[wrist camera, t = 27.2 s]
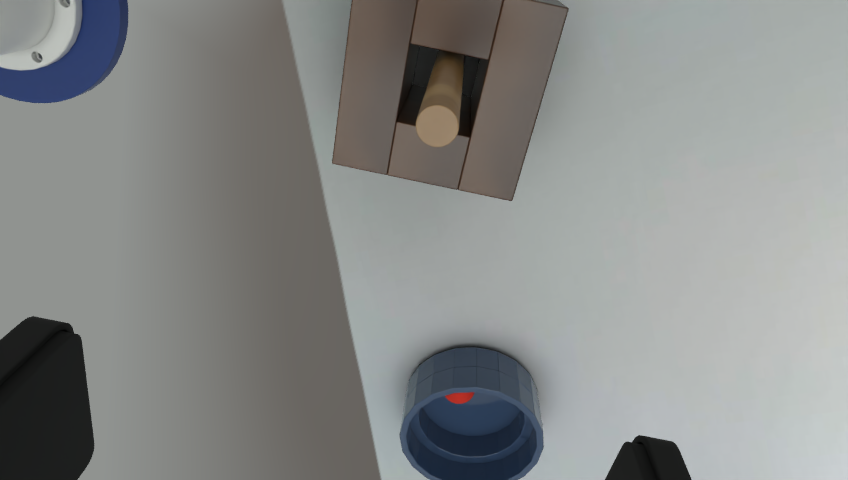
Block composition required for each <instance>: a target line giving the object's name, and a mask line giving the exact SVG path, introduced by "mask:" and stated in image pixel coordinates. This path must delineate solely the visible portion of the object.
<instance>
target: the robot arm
mask: <svg viewBox="0 0 848 480" xmlns="http://www.w3.org/2000/svg"><path fill="white" fill-rule="evenodd" d="M81 21H82V0H0V67H2V68H5V69H12V70H21V71H22V70H33V69H38V68H41V67H45V66H48V65H50V64H52V63H54V62H56V61H58V60H60V59H61V58H62V57H63V56H64V55H66V54H67V53H68V52H69V50H70V49H71V47H72V46H73V45H74V43H75V42H76V39H77V36H78V34H79V31H80V28H81ZM93 451H94V438H93V429H92V421H91V413H90V405H89V396H88V388H87V381H86V372H85V364H84V355H83V348H82V340H81V337H80V336H79V335H78V334H74V332H73V328H72V327H71V325H70V324H68V323H64V322H58V321H54V320H48V319H44V318H39V317H34V316H33V317H29V318H27V319H25V320H24V321H22V322H21V323H20V324H19V325H17V326H16V327H15V328H14V329H13V330H11V331H10V332H9V333H8V334H7V335H6V336H5V337H3V338H2V339H1V340H0V480H77V479H78V478H79V477H80V475H81V474H82V473H83V471H84V470H85V468H86V467H87V465H88V464H89V462H90V459H91V457H92V454H93ZM605 480H691V477H690V475H689V472H688V470H687V468H686V465H685V463H684V460H683V458H682V455H681V453H680V451H679V449H678V447H677V445H676V444H675V443H674V442H672V441H667V440H662V439H656V438H651V437H646V436H640V435H639V436H637V437H635V439H634V440H633V442H625V443H624V444H623V446H622V448H621V450H620V451H619V453H618V455H617V457H616V459H615V461H614V463H613V465H612V467H611V469H610V471H609V473H608V475H607V477H606V479H605Z"/></svg>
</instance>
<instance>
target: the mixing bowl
mask: <svg viewBox="0 0 848 480" xmlns="http://www.w3.org/2000/svg"><path fill="white" fill-rule="evenodd" d="M470 392H475V393H474V395H473V397H472V398H471V399H470V400H469V401H468V402H466V403H462V404H455V403H452V402H450V401H449V400H448V399H447V398H446V397H445V396H447V395H450V394H453V393H470ZM400 440H401V446H402V451H403V453H404V454H405V456H406V457H407V459H408V460H409V462H410V463H411V465H412V466H413V467H414V468H415V469H416V470H417V471H419V472H420V473H421V474H422V475H424V476H425V477H426V478H428V479H430V480H518V479H520V478H522V477H524V476H525V475H526V474H527V473H528V472H529V471H530V470H531V469H532V468H533V467H534V466H535V465H536V464H537V462H538V460H539V457H540V455H541V453H542V450H543V447H544V445H543V428H542V421H541V414H540V407H539V400H538V393H537V388H536V386H535V384H534V382H533V380H532V378H531V376H530V374H529V373H528V372H527V371H526V370H525V369H524V368H523V367H522V366H521V365H520V364H519V363H518V362H517V361H516V360H514V359H512V358H510V357H508V356H506V355H504V354H502V353H500V352H497V351H492V350H487V349H483V348H478V347H477V348H476V347H469V348H454V349H451V350H448V351H445V352H441V353H438V354H435V355H433V356H432V357H431V358H429V359H428V360H426V361H425V362H423V363H422V364H420V366H419V367H418V368H417V369H416V371H415V372H414V373H413V375H412V376H411V378H410V379H409V383H408V387H407V391H406V396H405V403H404V409H403V416H402V423H401V429H400Z"/></svg>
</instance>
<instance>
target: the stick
mask: <svg viewBox="0 0 848 480" xmlns="http://www.w3.org/2000/svg"><path fill="white" fill-rule="evenodd" d="M464 59H465V55H461V54H456V53H452V52H447V51H442V50H439V51H438V54H437V57H436V60H435V64H434V67H433V70H432V73H431V76H430V79H429V82H428V85H427V88H426V91H425V94H424V98H423V101H422V104H421V107H420V110H419V113H418V116H417V119H416V132H417V134H418V136H419V138H420V139H421V140H422V141H423V142H424V143H425V144H427V145H429V146H432V147H443V146H446V145H448V144H450V143H451V142H452V141H453V140H454V139H455V138H456V136H457V134H458V131H459V121H460V109H461V96H462V84H463V72H464Z"/></svg>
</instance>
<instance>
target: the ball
mask: <svg viewBox="0 0 848 480" xmlns="http://www.w3.org/2000/svg"><path fill="white" fill-rule="evenodd" d="M474 393H475V392H470V393H453V394H450V395H447V396H445V397H446V398H447V399H448V400H449V401H450V402H452V403H455V404H462V403H466V402H468V401H469V400H470V399H471V398H472V397H473V395H474Z"/></svg>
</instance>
